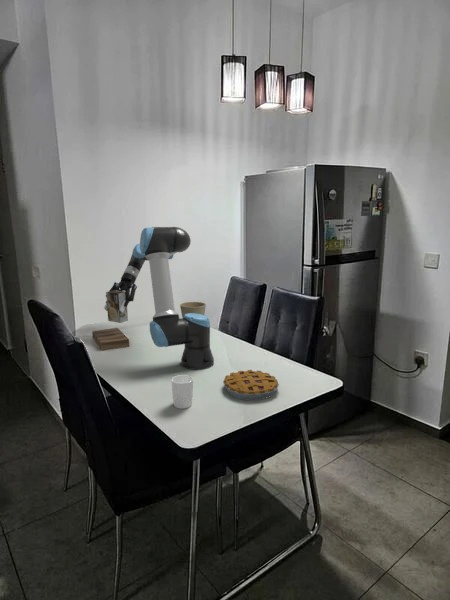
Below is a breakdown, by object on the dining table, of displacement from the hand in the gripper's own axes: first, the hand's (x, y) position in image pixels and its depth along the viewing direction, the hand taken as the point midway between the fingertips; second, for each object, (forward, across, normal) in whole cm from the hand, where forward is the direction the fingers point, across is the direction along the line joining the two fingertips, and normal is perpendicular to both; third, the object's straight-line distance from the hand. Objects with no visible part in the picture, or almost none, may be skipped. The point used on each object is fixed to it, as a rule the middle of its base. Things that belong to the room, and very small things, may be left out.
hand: (113, 310), depth 215 cm
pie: (+31, -86, +6) cm, 92 cm away
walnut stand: (+13, +3, -12) cm, 18 cm away
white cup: (+47, -68, +22) cm, 85 cm away
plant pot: (-13, -28, -39) cm, 50 cm away
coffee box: (+2, 0, -7) cm, 7 cm away
